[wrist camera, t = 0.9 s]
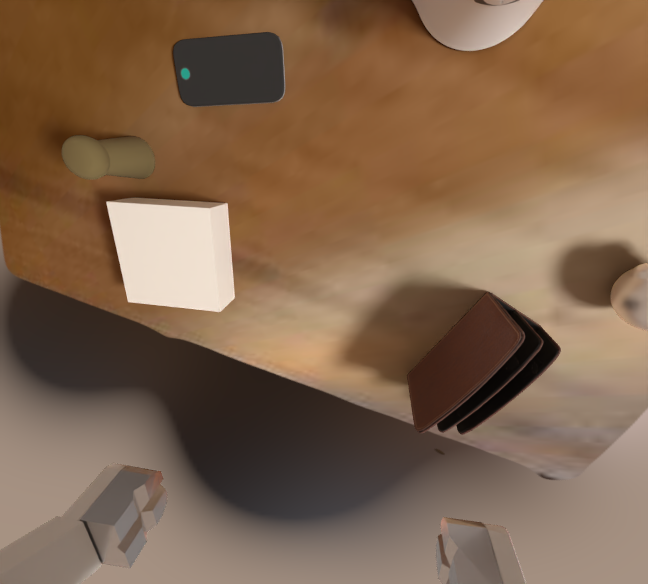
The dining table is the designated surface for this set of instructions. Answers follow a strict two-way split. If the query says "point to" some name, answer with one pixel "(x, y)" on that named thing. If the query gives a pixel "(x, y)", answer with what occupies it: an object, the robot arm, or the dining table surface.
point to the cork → (108, 157)
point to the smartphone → (230, 69)
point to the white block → (174, 252)
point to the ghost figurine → (632, 296)
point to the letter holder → (479, 367)
